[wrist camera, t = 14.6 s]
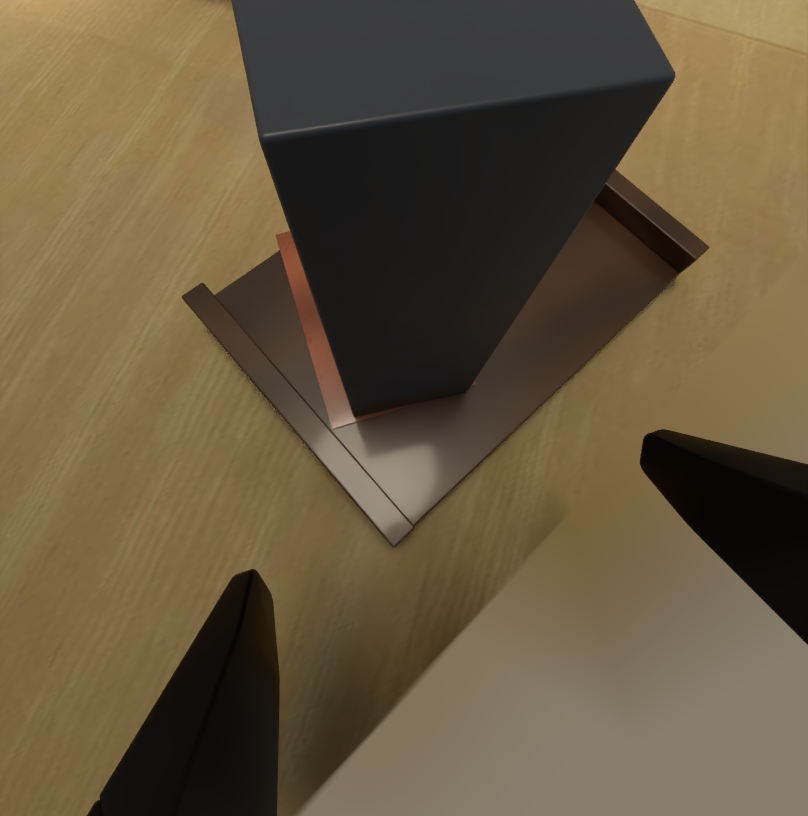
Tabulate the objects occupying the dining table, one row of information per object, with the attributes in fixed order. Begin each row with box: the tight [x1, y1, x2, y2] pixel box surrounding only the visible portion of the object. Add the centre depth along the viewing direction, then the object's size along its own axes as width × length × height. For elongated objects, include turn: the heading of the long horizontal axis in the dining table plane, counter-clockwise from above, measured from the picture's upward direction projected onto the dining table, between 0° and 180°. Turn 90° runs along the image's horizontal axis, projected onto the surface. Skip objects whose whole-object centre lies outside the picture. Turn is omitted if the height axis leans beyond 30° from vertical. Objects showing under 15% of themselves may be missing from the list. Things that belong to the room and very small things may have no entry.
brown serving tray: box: [182, 170, 709, 547], centre depth 21 cm, size 16×22×3 cm
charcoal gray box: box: [231, 0, 675, 417], centre depth 13 cm, size 10×6×14 cm, turn 14°
